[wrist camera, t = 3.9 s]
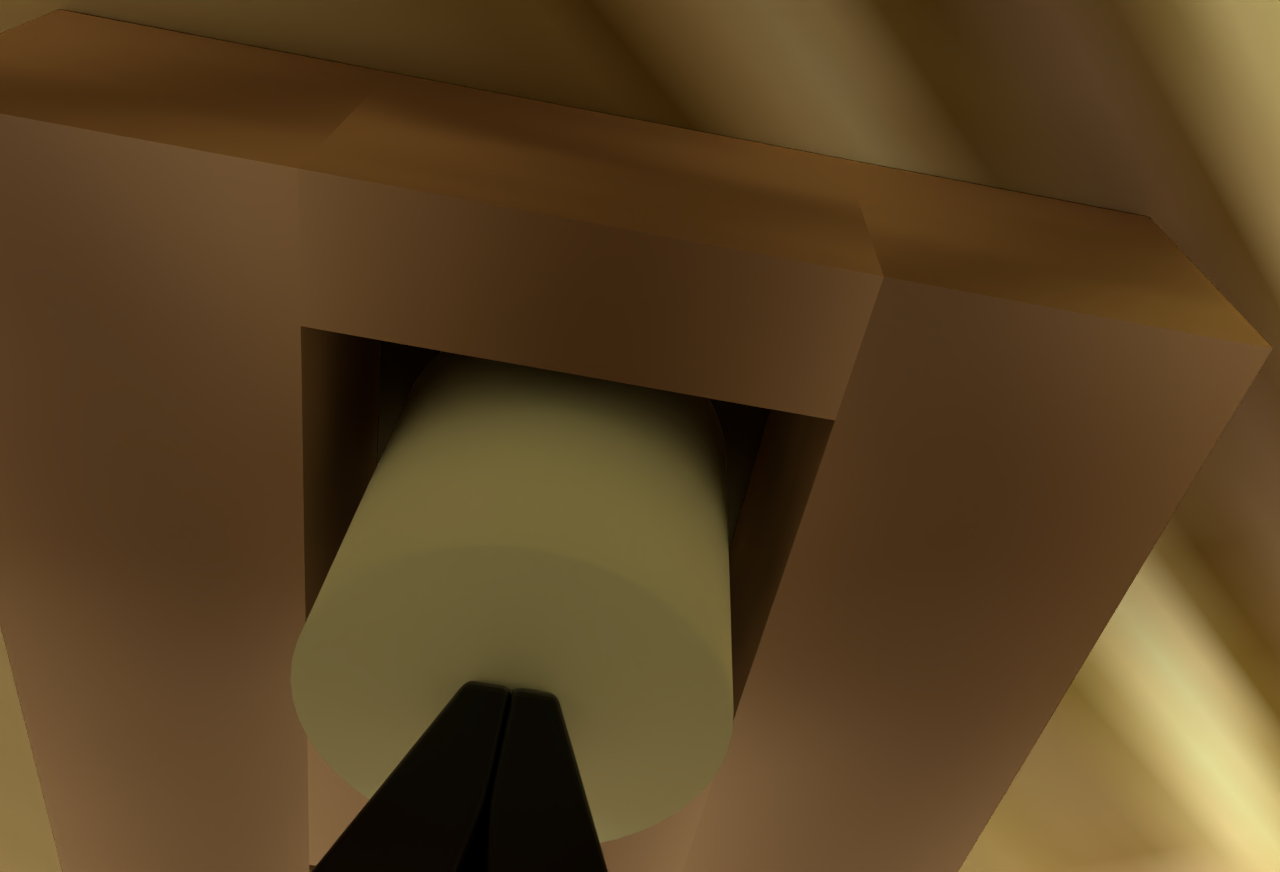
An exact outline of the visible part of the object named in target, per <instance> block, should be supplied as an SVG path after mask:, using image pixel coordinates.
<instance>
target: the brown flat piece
mask: <svg viewBox="0 0 1280 872" xmlns="http://www.w3.org/2000/svg"><path fill="white" fill-rule="evenodd" d="M381 340H382V341H387V342H393V343H399V344H404V345H410V346H416V347H421V348H427V349H433V350H438V351H444V352H450V353H455V354H461V355H467V356H472V357H478V358H484V359H489V360H495V361H501V362H506V363H512V364H518V365H523V366H529V367H535V368H541V369H546V370H552V371H558V372H563V373H569V374H575V375H580V376H586V377H592V378H597V379H603V380H609V381H614V382H620V383H626V384H631V385H637V386H643V387H648V388H654V389H660V390H665V391H671V392H677V393H682V394H688V395H694V396H699V397H705V398H711V399H716V400H722V401H728V402H733V403H739V404H745V405H750V406H756V407H762V408H767V409H771V410H770V413H769V417H768V420H767V424H766V427H765V430H764V434H763V437H762V441H761V444H760V447H759V451H758V454H757V458H756V461H755V464H754V468H753V471H752V475H751V478H750V481H749V485H748V488H747V492H746V495H745V498H744V502H743V505H742V509H741V512H740V515H739V519H738V522H737V526H736V529H735V532H734V536H733V539H732V543H731V546H730V549H729V577H730V610H731V643H732V676H733V710H734V712H733V732H732V736H731V740H730V744H729V748H728V751H727V753H726V756H725V758H724V760H723V762H722V765H721V767H720V768H719V770H718V771H717V773H716V774H715V776H714V777H713V779H712V780H711V782H710V783H709V784H708V785H707V786H706V787H705V788H704V789H703V791H702V792H701V793H700V794H699V795H698V796H697V797H696V798H695V799H694V800H692V801H691V802H690V803H688V804H687V805H686V806H685V807H683V808H682V809H681V810H680V811H678V812H677V813H675V814H673V815H672V816H670V817H668V818H666V819H665V820H663V821H661V822H660V823H658V824H655V825H653V826H651V827H649V828H646V829H644V830H642V831H640V832H637V833H634V834H631V835H628V836H625V837H622V838H619V839H615V840H611V841H606V842H602V843H600V845H601V848H602V852H603V855H604V859H605V862H606V866H607V869H608V872H958V871H959V869H960V868H961V866H962V864H963V863H964V861H965V859H966V858H967V856H968V854H969V853H970V851H971V849H972V848H973V846H974V844H975V843H976V841H977V839H978V838H979V836H980V834H981V833H982V831H983V829H984V828H985V826H986V824H987V823H988V821H989V819H990V818H991V816H992V814H993V813H994V811H995V809H996V808H997V806H998V804H999V803H1000V801H1001V799H1002V798H1003V796H1004V795H1005V793H1006V791H1007V790H1008V788H1009V786H1010V785H1011V783H1012V781H1013V780H1014V778H1015V776H1016V775H1017V773H1018V771H1019V770H1020V768H1021V766H1022V765H1023V763H1024V761H1025V760H1026V758H1027V756H1028V755H1029V753H1030V751H1031V750H1032V748H1033V746H1034V745H1035V743H1036V741H1037V740H1038V738H1039V736H1040V735H1041V733H1042V731H1043V730H1044V728H1045V726H1046V725H1047V723H1048V721H1049V720H1050V718H1051V716H1052V715H1053V713H1054V711H1055V710H1056V708H1057V706H1058V705H1059V703H1060V701H1061V700H1062V698H1063V696H1064V695H1065V693H1066V692H1067V690H1068V688H1069V687H1070V685H1071V683H1072V682H1073V680H1074V678H1075V677H1076V675H1077V673H1078V672H1079V670H1080V668H1081V667H1082V665H1083V663H1084V662H1085V660H1086V658H1087V657H1088V655H1089V653H1090V652H1091V650H1092V648H1093V647H1094V645H1095V643H1096V642H1097V640H1098V638H1099V637H1100V635H1101V633H1102V632H1103V630H1104V628H1105V627H1106V625H1107V623H1108V622H1109V620H1110V618H1111V617H1112V615H1113V613H1114V612H1115V610H1116V608H1117V607H1118V605H1119V603H1120V602H1121V600H1122V598H1123V597H1124V595H1125V593H1126V592H1127V590H1128V589H1129V587H1130V585H1131V584H1132V582H1133V580H1134V579H1135V577H1136V575H1137V574H1138V572H1139V570H1140V569H1141V567H1142V565H1143V564H1144V562H1145V560H1146V559H1147V557H1148V555H1149V554H1150V552H1151V550H1152V549H1153V547H1154V545H1155V544H1156V542H1157V540H1158V539H1159V537H1160V535H1161V534H1162V532H1163V530H1164V529H1165V527H1166V525H1167V524H1168V522H1169V520H1170V519H1171V517H1172V515H1173V514H1174V512H1175V510H1176V509H1177V507H1178V505H1179V504H1180V502H1181V500H1182V499H1183V497H1184V495H1185V494H1186V492H1187V490H1188V489H1189V487H1190V485H1191V484H1192V482H1193V481H1194V479H1195V477H1196V476H1197V474H1198V472H1199V471H1200V469H1201V467H1202V466H1203V464H1204V462H1205V461H1206V459H1207V457H1208V456H1209V454H1210V452H1211V451H1212V449H1213V447H1214V446H1215V444H1216V442H1217V441H1218V439H1219V437H1220V436H1221V434H1222V432H1223V431H1224V429H1225V427H1226V426H1227V424H1228V422H1229V421H1230V419H1231V417H1232V416H1233V414H1234V412H1235V411H1236V409H1237V407H1238V406H1239V404H1240V402H1241V401H1242V399H1243V397H1244V396H1245V394H1246V392H1247V391H1248V389H1249V387H1250V386H1251V384H1252V382H1253V381H1254V379H1255V378H1256V376H1257V374H1258V373H1259V371H1260V369H1261V368H1262V366H1263V364H1264V363H1265V361H1266V359H1267V358H1268V356H1269V354H1270V353H1271V351H1272V349H1273V348H1272V347H1271V346H1270V345H1269V344H1268V343H1267V342H1266V341H1265V340H1264V338H1263V337H1262V336H1261V335H1260V334H1259V333H1258V332H1257V331H1256V330H1255V329H1254V328H1253V327H1252V326H1251V325H1250V324H1249V323H1248V321H1247V320H1246V319H1245V318H1244V317H1243V316H1242V315H1241V314H1240V313H1239V312H1238V311H1237V310H1236V309H1235V308H1234V307H1233V306H1232V304H1231V303H1230V302H1229V301H1228V300H1227V299H1226V298H1225V297H1224V296H1223V295H1222V294H1221V293H1220V292H1219V291H1218V290H1217V289H1216V287H1215V286H1214V285H1213V284H1212V283H1211V282H1210V281H1209V280H1208V279H1207V278H1206V277H1205V276H1204V275H1203V274H1202V273H1201V272H1200V271H1199V269H1198V268H1197V267H1196V266H1195V265H1194V264H1193V263H1192V262H1191V261H1190V260H1189V259H1188V258H1187V257H1186V256H1185V255H1184V254H1183V252H1182V251H1181V250H1180V249H1179V248H1178V247H1177V246H1176V245H1175V244H1174V243H1173V242H1172V241H1171V240H1170V239H1169V238H1168V237H1167V235H1166V234H1165V233H1164V232H1163V231H1162V230H1161V229H1160V228H1159V227H1158V226H1157V225H1156V224H1155V223H1154V222H1153V221H1152V220H1151V218H1150V217H1145V216H1140V215H1135V214H1130V213H1124V212H1119V211H1114V210H1109V209H1103V208H1098V207H1093V206H1088V205H1082V204H1077V203H1072V202H1067V201H1061V200H1056V199H1051V198H1046V197H1040V196H1035V195H1030V194H1025V193H1019V192H1014V191H1009V190H1004V189H998V188H993V187H988V186H983V185H977V184H972V183H967V182H962V181H956V180H951V179H946V178H941V177H935V176H930V175H925V174H920V173H914V172H909V171H904V170H899V169H893V168H888V167H883V166H878V165H873V164H867V163H862V162H857V161H852V160H846V159H841V158H836V157H831V156H825V155H820V154H815V153H810V152H804V151H799V150H794V149H789V148H783V147H778V146H773V145H768V144H762V143H757V142H752V141H747V140H741V139H736V138H731V137H726V136H720V135H715V134H710V133H705V132H699V131H694V130H689V129H684V128H678V127H673V126H668V125H663V124H657V123H652V122H647V121H642V120H636V119H631V118H626V117H621V116H615V115H610V114H605V113H600V112H594V111H589V110H584V109H579V108H573V107H568V106H563V105H558V104H552V103H547V102H542V101H537V100H531V99H526V98H521V97H516V96H510V95H505V94H500V93H495V92H489V91H484V90H479V89H474V88H468V87H463V86H458V85H453V84H447V83H442V82H437V81H432V80H426V79H421V78H416V77H411V76H405V75H400V74H395V73H390V72H384V71H379V70H374V69H369V68H363V67H358V66H353V65H348V64H342V63H337V62H332V61H327V60H321V59H316V58H311V57H306V56H301V55H295V54H290V53H285V52H280V51H274V50H269V49H264V48H259V47H253V46H248V45H243V44H238V43H232V42H227V41H222V40H217V39H211V38H206V37H201V36H196V35H190V34H185V33H180V32H175V31H169V30H164V29H159V28H154V27H148V26H143V25H138V24H133V23H127V22H122V21H117V20H112V19H106V18H101V17H96V16H91V15H85V14H80V13H75V12H70V11H64V10H56V11H54V12H51V13H49V14H47V15H44V16H42V17H39V18H37V19H34V20H32V21H30V22H27V23H25V24H22V25H20V26H17V27H15V28H13V29H10V30H8V31H5V32H3V33H0V625H1V629H2V633H3V637H4V641H5V645H6V649H7V653H8V657H9V661H10V665H11V669H12V673H13V677H14V681H15V685H16V689H17V693H18V697H19V701H20V705H21V709H22V713H23V717H24V721H25V725H26V729H27V733H28V737H29V741H30V745H31V748H32V752H33V756H34V760H35V764H36V768H37V772H38V776H39V780H40V784H41V788H42V792H43V796H44V800H45V804H46V808H47V812H48V816H49V820H50V824H51V828H52V832H53V836H54V840H55V844H56V848H57V852H58V856H59V860H60V864H61V868H62V872H311V871H312V870H313V869H314V867H315V866H316V865H317V864H318V863H319V861H320V860H321V859H322V858H323V856H324V855H325V854H326V853H327V851H328V850H329V849H330V848H331V846H332V845H333V844H334V843H335V842H336V840H337V839H338V838H339V837H340V835H341V834H342V833H343V832H344V830H345V829H346V828H347V827H348V825H349V824H350V823H351V822H352V821H353V819H354V818H355V817H356V816H357V814H358V813H359V812H360V811H361V809H362V808H363V807H364V806H365V804H366V803H367V802H368V801H369V799H368V798H367V797H365V796H364V795H362V794H361V793H360V792H358V791H357V790H355V789H354V788H353V787H352V786H350V785H349V784H348V783H347V782H346V781H345V780H344V779H342V778H341V777H340V776H339V775H338V774H337V773H336V772H335V771H334V770H333V769H332V768H331V767H330V766H329V765H328V764H327V762H326V761H325V760H324V759H323V758H322V757H321V756H320V754H319V753H318V751H317V750H316V749H315V747H314V746H313V744H312V743H311V741H310V740H309V739H308V737H307V735H306V733H305V731H304V729H303V727H302V725H301V723H300V721H299V718H298V715H297V712H296V708H295V705H294V702H293V696H292V688H291V666H292V658H293V655H294V651H295V648H296V644H297V641H298V638H299V636H300V634H301V632H302V630H303V627H304V625H305V623H306V621H307V619H308V616H309V614H310V612H311V610H312V608H313V605H314V603H315V601H316V599H317V597H318V594H319V592H320V590H321V588H322V586H323V583H324V581H325V579H326V577H327V575H328V572H329V570H330V568H331V566H332V564H333V561H334V559H335V557H336V555H337V553H338V550H339V548H340V546H341V544H342V542H343V539H344V537H345V535H346V533H347V531H348V528H349V526H350V524H351V522H352V520H353V517H354V515H355V513H356V511H357V509H358V506H359V504H360V502H361V500H362V498H363V495H364V493H365V491H366V489H367V486H368V484H369V482H370V480H371V478H372V475H373V473H374V471H375V469H376V467H377V438H378V410H379V381H380V352H381Z"/></svg>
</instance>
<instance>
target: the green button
mask: <svg viewBox="0 0 1280 872" xmlns="http://www.w3.org/2000/svg"><path fill="white" fill-rule="evenodd" d="M469 681H478V682H484V683H490V684H497V685H503V686H505V687H507V688H508V689H509V691H510V697H511V694H512V692H513V691H514V690H516V689H520V688H522V689H528V690H534V691H541V692H547V693H552V694H554V695H555V696H556V697H557V698H558V700H559V702H560V705H561V708H562V712H563V715H564V719H565V722H566V726H567V729H568V733H569V736H570V740H571V743H572V747H573V750H574V754H575V757H576V761H577V764H578V768H579V771H580V775H581V778H582V782H583V785H584V789H585V792H586V796H587V799H588V803H589V806H590V810H591V813H592V817H593V820H594V824H595V827H596V831H597V834H598V838H599V841H600V843H602V842H606V841H611V840H615V839H619V838H622V837H625V836H628V835H631V834H634V833H637V832H640V831H642V830H644V829H646V828H649V827H651V826H653V825H655V824H658V823H660V822H661V821H663V820H665V819H666V818H668V817H670V816H672V815H673V814H675V813H677V812H678V811H680V810H681V809H682V808H683V807H685V806H686V805H687V804H688V803H690V802H691V801H692V800H694V799H695V798H696V797H697V796H698V795H699V794H700V793H701V792H702V791H703V789H704V788H705V787H706V786H707V785H708V784H709V783H710V782H711V780H712V779H713V777H714V776H715V774H716V773H717V771H718V770H719V768H720V767H721V765H722V762H723V760H724V758H725V756H726V753H727V751H728V748H729V744H730V740H731V736H732V732H733V712H734V710H733V676H732V643H731V610H730V577H729V544H728V511H727V478H726V451H725V443H724V436H723V432H722V429H721V425H720V422H719V419H718V416H717V414H716V412H715V410H714V407H713V405H712V403H711V401H710V399H709V398H705V397H699V396H694V395H688V394H682V393H677V392H671V391H665V390H660V389H654V388H648V387H643V386H637V385H631V384H626V383H620V382H614V381H609V380H603V379H597V378H592V377H586V376H580V375H575V374H569V373H563V372H558V371H552V370H546V369H541V368H535V367H529V366H523V365H518V364H512V363H506V362H501V361H495V360H489V359H484V358H478V357H472V356H467V355H461V354H455V353H450V352H444V351H441V352H440V353H439V354H438V355H437V356H436V357H435V358H434V359H433V360H432V361H431V362H430V363H429V364H428V365H427V367H426V368H425V369H424V371H423V372H422V374H421V375H420V376H419V378H418V379H417V381H416V382H415V384H414V386H413V388H412V390H411V392H410V394H409V396H408V398H407V401H406V403H405V405H404V407H403V409H402V412H401V414H400V416H399V418H398V420H397V423H396V425H395V427H394V429H393V431H392V434H391V436H390V438H389V440H388V442H387V445H386V447H385V449H384V451H383V453H382V456H381V458H380V460H379V462H378V464H377V467H376V469H375V471H374V473H373V475H372V478H371V480H370V482H369V484H368V486H367V489H366V491H365V493H364V495H363V498H362V500H361V502H360V504H359V506H358V509H357V511H356V513H355V515H354V517H353V520H352V522H351V524H350V526H349V528H348V531H347V533H346V535H345V537H344V539H343V542H342V544H341V546H340V548H339V550H338V553H337V555H336V557H335V559H334V561H333V564H332V566H331V568H330V570H329V572H328V575H327V577H326V579H325V581H324V583H323V586H322V588H321V590H320V592H319V594H318V597H317V599H316V601H315V603H314V605H313V608H312V610H311V612H310V614H309V616H308V619H307V621H306V623H305V625H304V627H303V630H302V632H301V634H300V636H299V638H298V641H297V644H296V648H295V651H294V655H293V658H292V666H291V688H292V696H293V702H294V705H295V708H296V712H297V715H298V718H299V721H300V723H301V725H302V727H303V729H304V731H305V733H306V735H307V737H308V739H309V740H310V741H311V743H312V744H313V746H314V747H315V749H316V750H317V751H318V753H319V754H320V756H321V757H322V758H323V759H324V760H325V761H326V762H327V764H328V765H329V766H330V767H331V768H332V769H333V770H334V771H335V772H336V773H337V774H338V775H339V776H340V777H341V778H342V779H344V780H345V781H346V782H347V783H348V784H349V785H350V786H352V787H353V788H354V789H355V790H357V791H358V792H360V793H361V794H362V795H364V796H365V797H367V798H368V799H369V800H370V798H371V797H372V796H373V795H374V793H375V792H376V791H377V790H378V788H379V787H380V786H381V785H382V783H383V782H384V781H385V780H386V779H387V777H388V776H389V775H390V774H391V772H392V771H393V770H394V769H395V767H396V766H397V765H398V764H399V762H400V761H401V760H402V759H403V758H404V756H405V755H406V754H407V753H408V751H409V750H410V749H411V748H412V746H413V745H414V744H415V743H416V741H417V740H418V739H419V738H420V737H421V735H422V734H423V733H424V732H425V730H426V729H427V728H428V727H429V725H430V724H431V723H432V722H433V720H434V719H435V718H436V717H437V716H438V714H439V713H440V712H441V711H442V709H443V708H444V707H445V706H446V704H447V703H448V702H449V701H450V699H451V698H452V697H453V696H454V695H455V693H456V692H457V691H458V690H459V688H460V687H461V686H462V685H464V684H465V683H466V682H469Z"/></svg>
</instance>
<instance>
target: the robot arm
mask: <svg viewBox="0 0 1280 872" xmlns="http://www.w3.org/2000/svg"><path fill="white" fill-rule="evenodd" d="M311 872H608V869H607V866H606V862H605V859H604V855H603V852H602V848H601V845H600V841H599V838H598V834H597V831H596V827H595V824H594V820H593V817H592V813H591V810H590V806H589V803H588V799H587V796H586V792H585V789H584V785H583V782H582V778H581V775H580V771H579V768H578V764H577V761H576V757H575V754H574V750H573V747H572V743H571V740H570V736H569V733H568V729H567V726H566V722H565V719H564V715H563V712H562V708H561V705H560V702H559V700H558V698H557V697H556V696H555V695H554V694H552V693H547V692H541V691H534V690H528V689H522V688H520V689H516V690H514V691H513V692H512V694H511V697H510V691H509V689H508V688H507V687H505V686H503V685H497V684H490V683H484V682H478V681H469V682H466V683H465V684H464V685H462V686H461V687H460V688H459V690H458V691H457V692H456V693H455V695H454V696H453V697H452V698H451V699H450V701H449V702H448V703H447V704H446V706H445V707H444V708H443V709H442V711H441V712H440V713H439V714H438V716H437V717H436V718H435V719H434V720H433V722H432V723H431V724H430V725H429V727H428V728H427V729H426V730H425V732H424V733H423V734H422V735H421V737H420V738H419V739H418V740H417V741H416V743H415V744H414V745H413V746H412V748H411V749H410V750H409V751H408V753H407V754H406V755H405V756H404V758H403V759H402V760H401V761H400V762H399V764H398V765H397V766H396V767H395V769H394V770H393V771H392V772H391V774H390V775H389V776H388V777H387V779H386V780H385V781H384V782H383V783H382V785H381V786H380V787H379V788H378V790H377V791H376V792H375V793H374V795H373V796H372V797H371V798H370V800H369V801H368V802H367V803H366V804H365V806H364V807H363V808H362V809H361V811H360V812H359V813H358V814H357V816H356V817H355V818H354V819H353V821H352V822H351V823H350V824H349V825H348V827H347V828H346V829H345V830H344V832H343V833H342V834H341V835H340V837H339V838H338V839H337V840H336V842H335V843H334V844H333V845H332V846H331V848H330V849H329V850H328V851H327V853H326V854H325V855H324V856H323V858H322V859H321V860H320V861H319V863H318V864H317V865H316V866H315V867H314V869H313V870H312V871H311Z"/></svg>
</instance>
